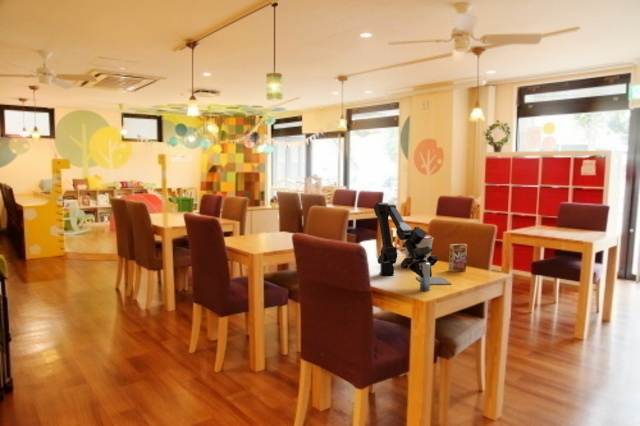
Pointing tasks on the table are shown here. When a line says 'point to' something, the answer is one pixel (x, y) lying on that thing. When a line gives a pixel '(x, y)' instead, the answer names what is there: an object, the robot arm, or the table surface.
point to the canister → (423, 245)
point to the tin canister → (425, 276)
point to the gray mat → (437, 281)
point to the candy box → (457, 257)
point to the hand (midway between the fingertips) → (427, 276)
